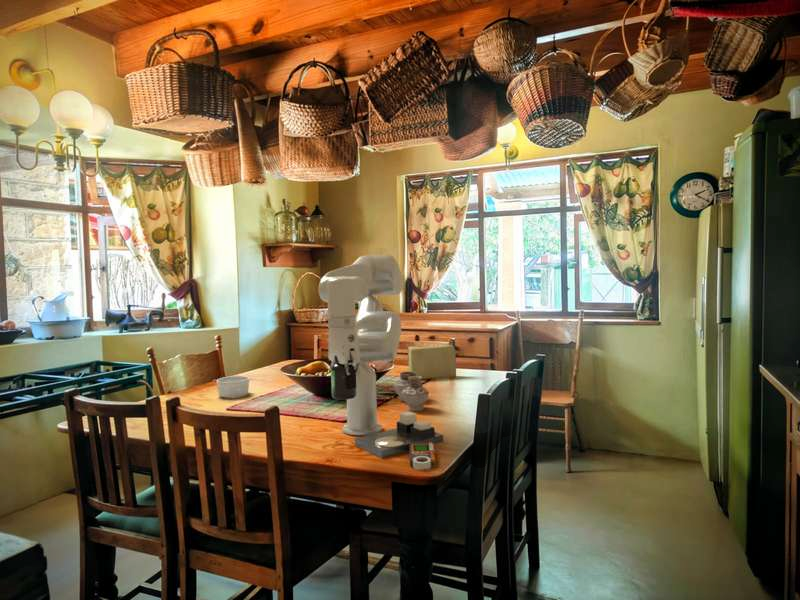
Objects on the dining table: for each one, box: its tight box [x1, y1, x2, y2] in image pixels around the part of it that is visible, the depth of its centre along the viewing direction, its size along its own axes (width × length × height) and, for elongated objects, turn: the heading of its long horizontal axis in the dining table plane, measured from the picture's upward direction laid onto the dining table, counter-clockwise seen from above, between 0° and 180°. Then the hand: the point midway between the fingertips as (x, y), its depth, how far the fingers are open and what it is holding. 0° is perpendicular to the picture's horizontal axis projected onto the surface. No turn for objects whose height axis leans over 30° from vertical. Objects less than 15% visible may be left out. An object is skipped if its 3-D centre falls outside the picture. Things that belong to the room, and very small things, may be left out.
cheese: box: [407, 344, 457, 380], centre depth 249 cm, size 22×10×15 cm, turn 97°
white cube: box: [414, 419, 432, 430], centre depth 156 cm, size 4×4×4 cm
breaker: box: [399, 411, 417, 425], centre depth 161 cm, size 4×4×4 cm
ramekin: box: [216, 375, 250, 399], centre depth 221 cm, size 13×13×7 cm
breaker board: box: [354, 420, 444, 459], centre depth 155 cm, size 14×22×4 cm, turn 126°
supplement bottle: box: [330, 355, 356, 401], centre depth 147 cm, size 7×7×12 cm
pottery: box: [393, 371, 429, 412], centre depth 200 cm, size 11×25×12 cm, turn 10°
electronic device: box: [409, 442, 436, 470], centre depth 142 cm, size 7×3×15 cm
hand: (343, 385), depth 147 cm, fingers closed on supplement bottle, 6 cm apart
